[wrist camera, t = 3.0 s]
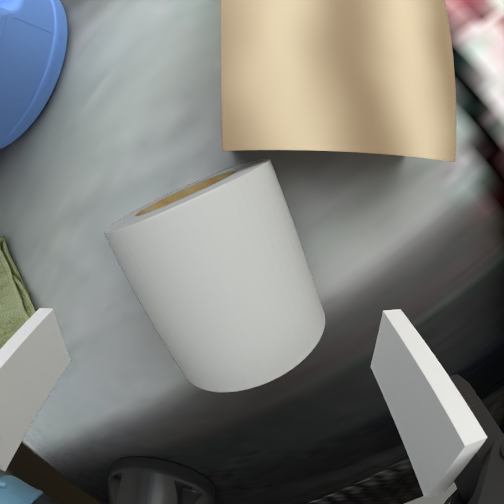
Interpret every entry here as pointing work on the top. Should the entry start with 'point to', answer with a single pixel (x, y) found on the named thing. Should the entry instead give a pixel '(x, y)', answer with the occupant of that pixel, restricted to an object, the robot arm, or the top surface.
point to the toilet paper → (223, 278)
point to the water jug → (28, 61)
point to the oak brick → (338, 77)
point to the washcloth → (12, 297)
